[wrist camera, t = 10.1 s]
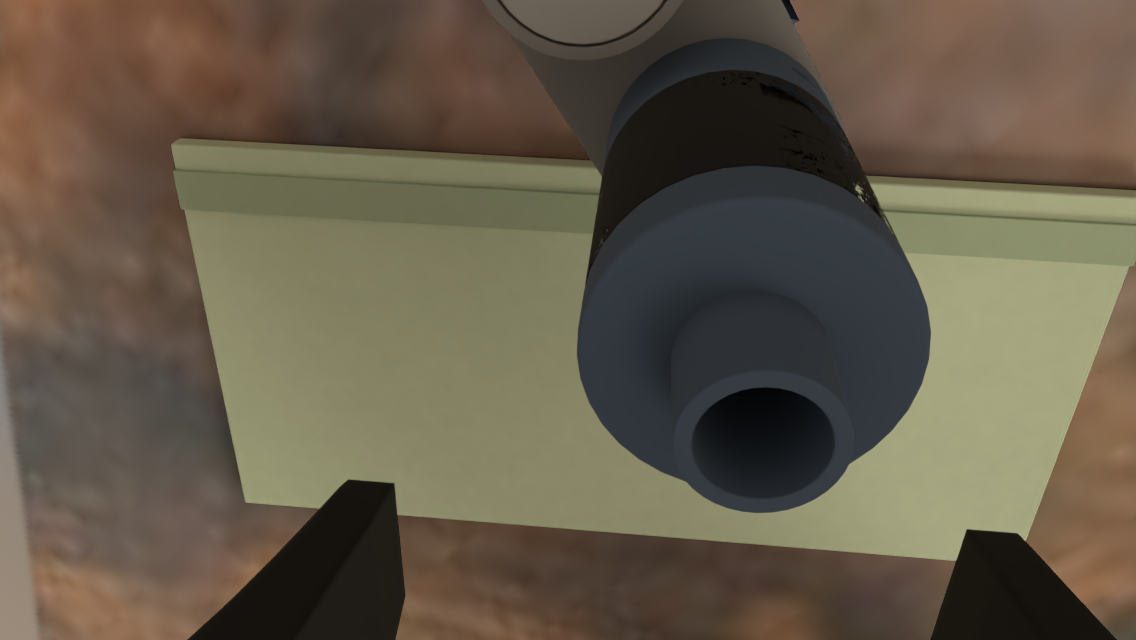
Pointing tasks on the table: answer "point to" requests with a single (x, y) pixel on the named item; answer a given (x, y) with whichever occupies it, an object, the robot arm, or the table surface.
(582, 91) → the vaping device
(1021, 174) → the table surface
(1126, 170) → the table surface
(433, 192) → the tray
